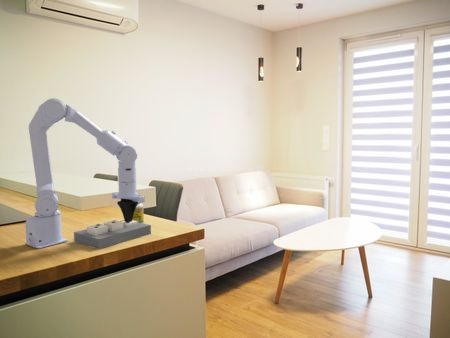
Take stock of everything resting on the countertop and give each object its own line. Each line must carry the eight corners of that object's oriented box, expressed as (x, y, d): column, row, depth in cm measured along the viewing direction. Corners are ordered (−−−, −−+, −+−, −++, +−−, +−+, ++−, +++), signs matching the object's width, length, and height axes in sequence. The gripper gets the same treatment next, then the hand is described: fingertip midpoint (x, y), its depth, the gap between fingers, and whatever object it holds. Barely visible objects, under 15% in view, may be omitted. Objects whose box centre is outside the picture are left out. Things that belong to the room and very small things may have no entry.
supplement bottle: (143, 221, 136) (143, 197, 136) (143, 225, 131) (143, 199, 130) (129, 222, 135) (128, 197, 134) (128, 226, 130) (127, 200, 129)
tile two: (95, 238, 108) (95, 228, 107) (87, 236, 110) (86, 226, 110) (108, 235, 111) (107, 225, 111) (99, 233, 114) (99, 223, 113)
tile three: (127, 232, 117) (127, 223, 117) (119, 230, 120) (118, 221, 120) (138, 230, 121) (137, 220, 121) (129, 228, 123) (129, 219, 123)
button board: (99, 249, 104) (98, 239, 104) (74, 241, 111) (73, 232, 111) (150, 233, 120) (150, 225, 120) (126, 227, 128) (125, 219, 127)
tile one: (112, 234, 112) (111, 224, 112) (103, 231, 115) (103, 222, 115) (123, 231, 116) (123, 221, 116) (115, 229, 119) (114, 219, 118)
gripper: (151, 181, 118) (152, 222, 119) (123, 178, 126) (124, 216, 128) (134, 184, 112) (135, 226, 113) (106, 180, 121) (107, 220, 122)
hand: (128, 221), depth 120 cm, fingers closed, pressing on tile three
